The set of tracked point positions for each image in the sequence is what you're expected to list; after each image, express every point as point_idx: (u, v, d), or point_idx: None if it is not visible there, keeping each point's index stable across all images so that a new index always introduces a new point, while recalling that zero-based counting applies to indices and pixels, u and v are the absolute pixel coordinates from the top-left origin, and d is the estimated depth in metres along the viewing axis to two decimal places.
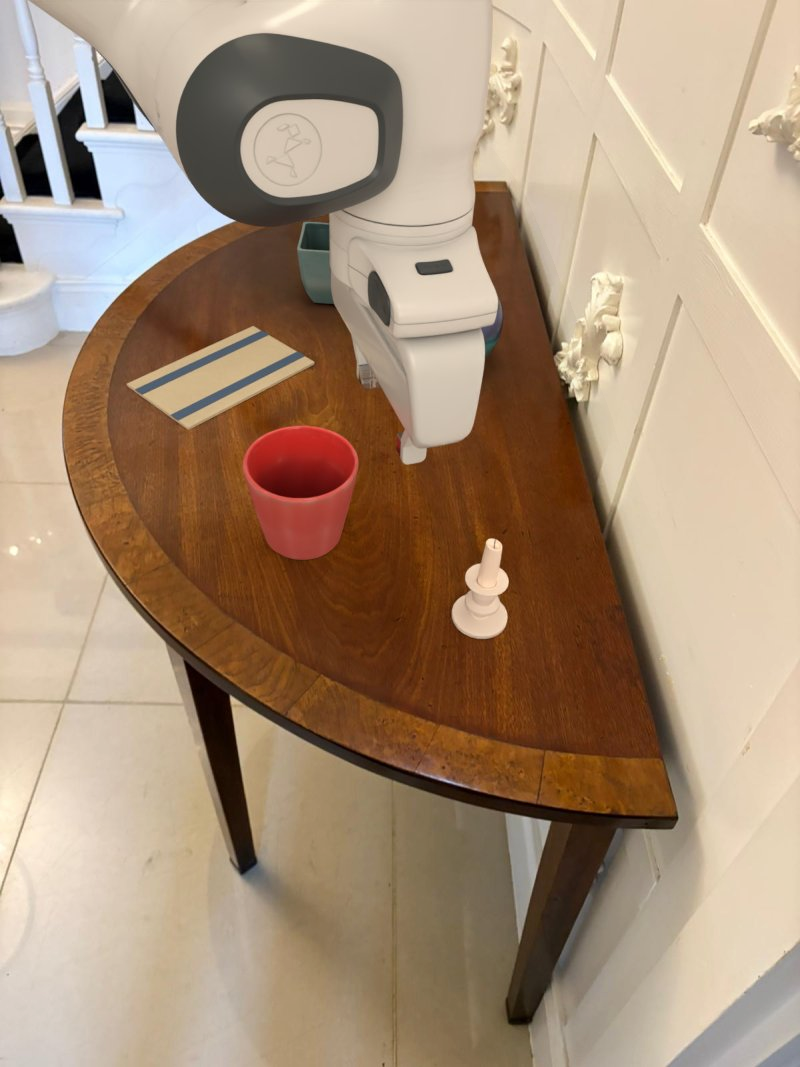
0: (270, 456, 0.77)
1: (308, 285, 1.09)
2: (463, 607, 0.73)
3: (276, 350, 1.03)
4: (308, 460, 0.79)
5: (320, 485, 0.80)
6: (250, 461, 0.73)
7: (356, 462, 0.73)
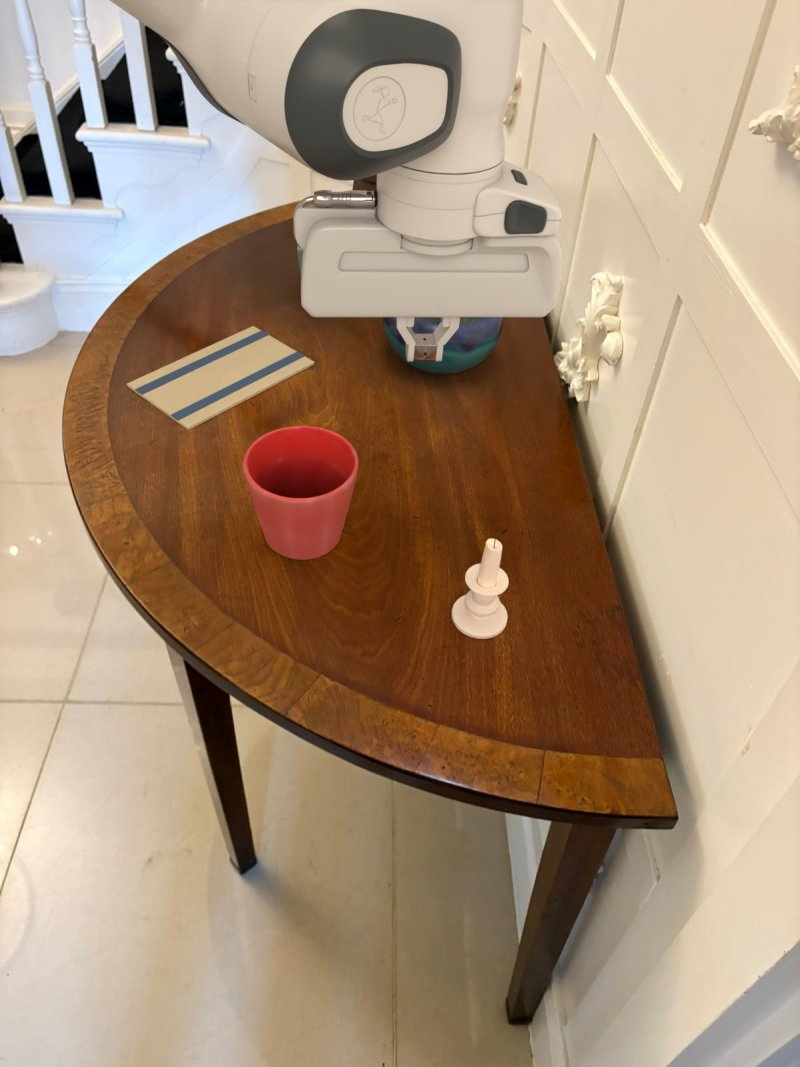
0: (270, 456, 0.77)
1: None
2: (463, 607, 0.73)
3: (276, 350, 1.03)
4: (308, 460, 0.79)
5: (320, 485, 0.80)
6: (250, 461, 0.73)
7: (356, 462, 0.73)
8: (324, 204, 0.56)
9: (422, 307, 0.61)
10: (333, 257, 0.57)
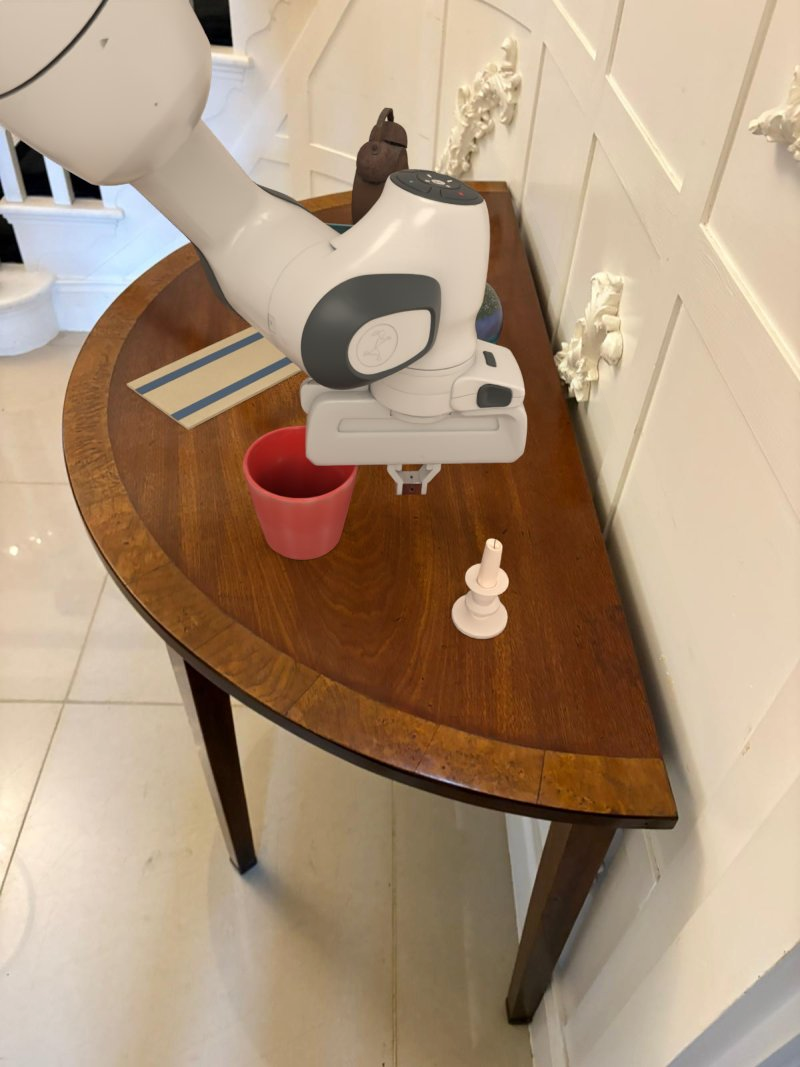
0: (270, 456, 0.77)
1: None
2: (463, 607, 0.73)
3: (276, 350, 1.03)
4: (308, 460, 0.79)
5: (320, 485, 0.80)
6: (250, 461, 0.73)
7: None
8: None
9: (408, 457, 0.72)
10: (333, 422, 0.68)
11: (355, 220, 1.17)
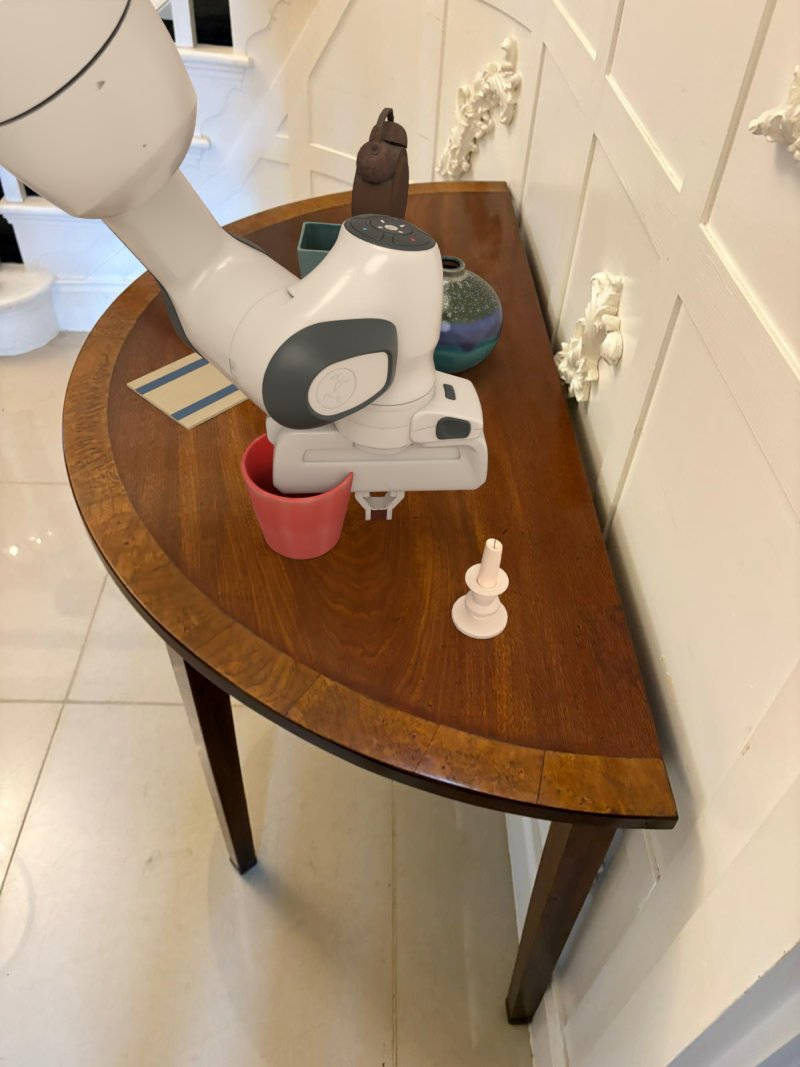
0: (268, 456, 0.77)
1: None
2: (463, 607, 0.73)
3: None
4: None
5: None
6: (248, 461, 0.73)
7: None
8: None
9: (373, 485, 0.74)
10: (298, 453, 0.70)
11: None
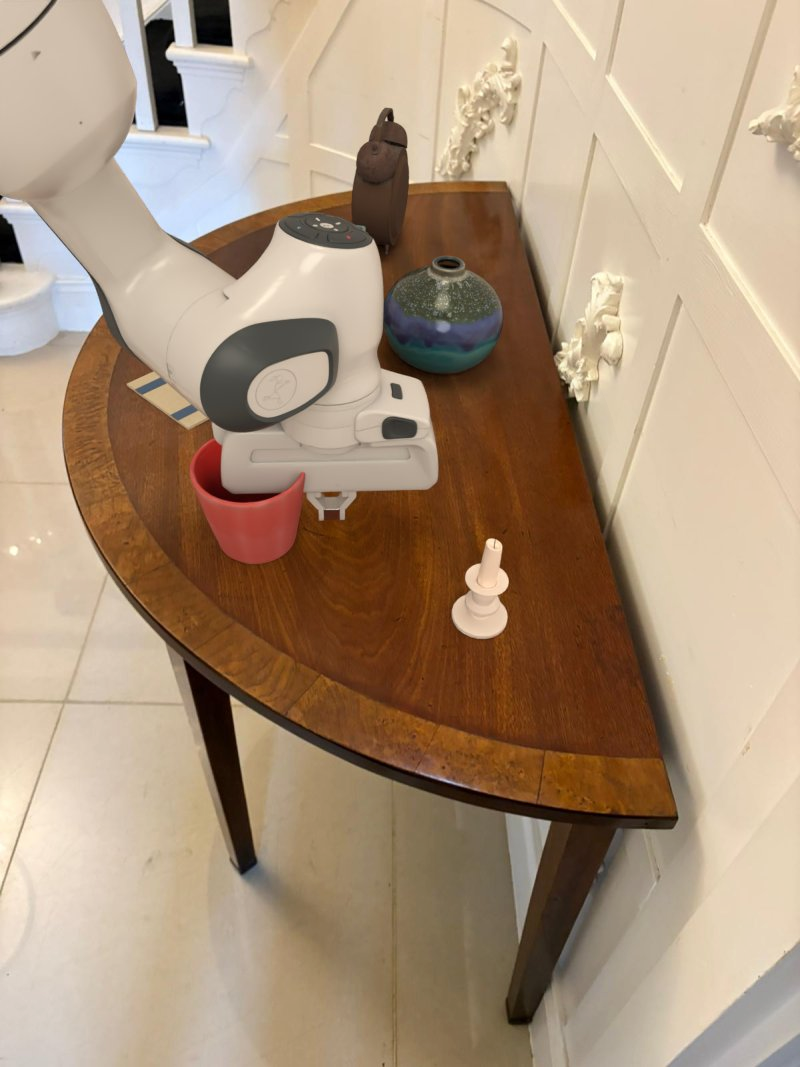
0: (217, 462, 0.75)
1: None
2: (463, 607, 0.73)
3: None
4: None
5: None
6: (197, 469, 0.72)
7: None
8: None
9: (323, 485, 0.73)
10: (245, 453, 0.70)
11: (355, 220, 1.17)
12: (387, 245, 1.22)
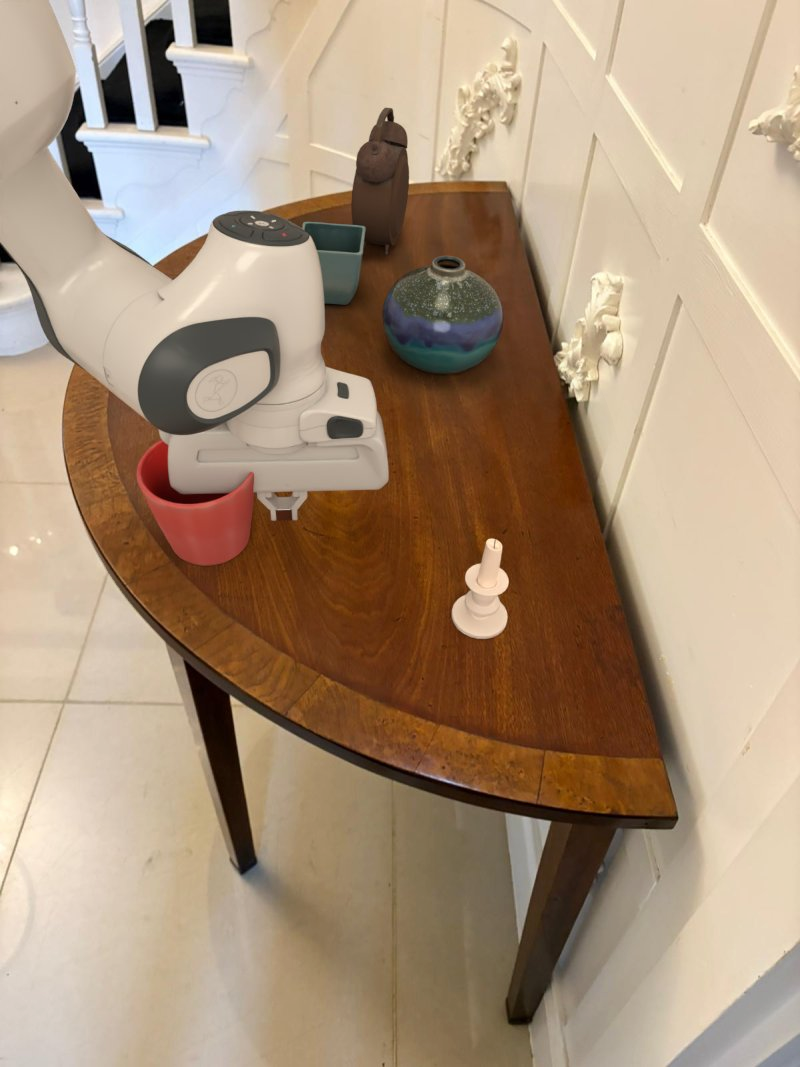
0: (166, 463, 0.75)
1: None
2: (463, 607, 0.73)
3: None
4: None
5: None
6: (144, 471, 0.72)
7: None
8: None
9: (273, 486, 0.73)
10: (191, 453, 0.69)
11: (355, 220, 1.17)
12: (387, 245, 1.22)
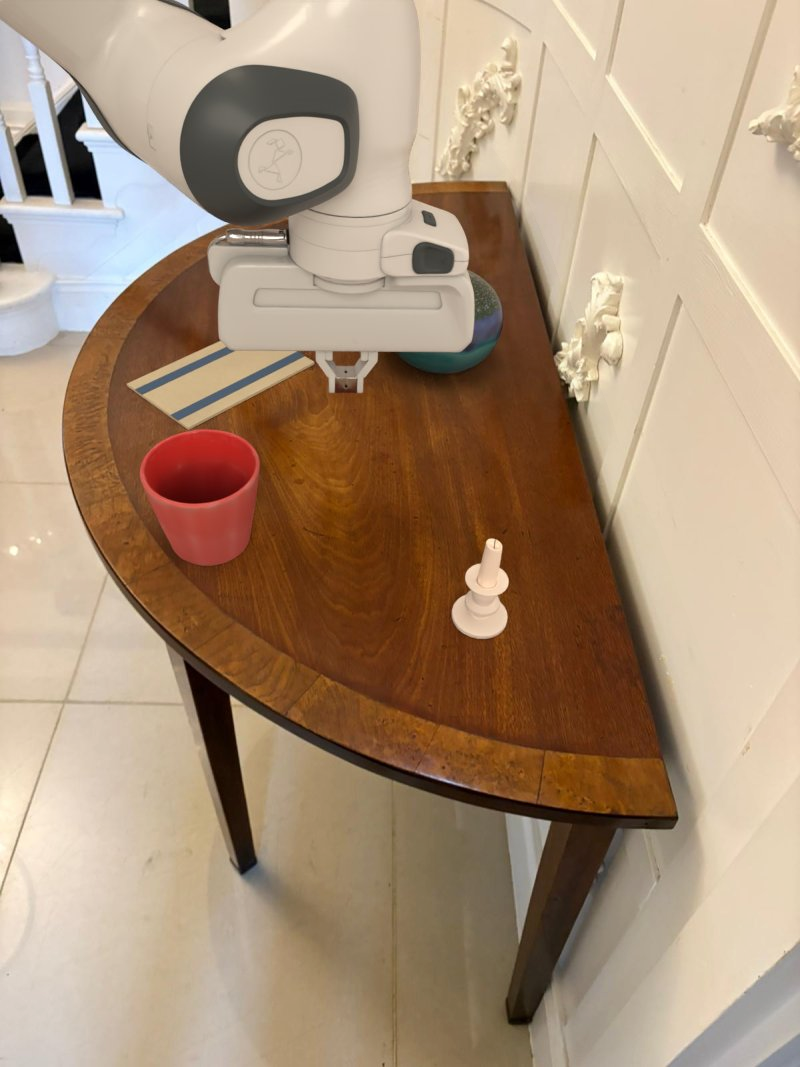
0: (169, 463, 0.75)
1: None
2: (463, 607, 0.73)
3: None
4: (210, 464, 0.77)
5: (224, 488, 0.79)
6: (148, 470, 0.72)
7: (257, 462, 0.73)
8: (237, 242, 0.57)
9: (339, 342, 0.62)
10: (247, 293, 0.58)
11: None
12: None
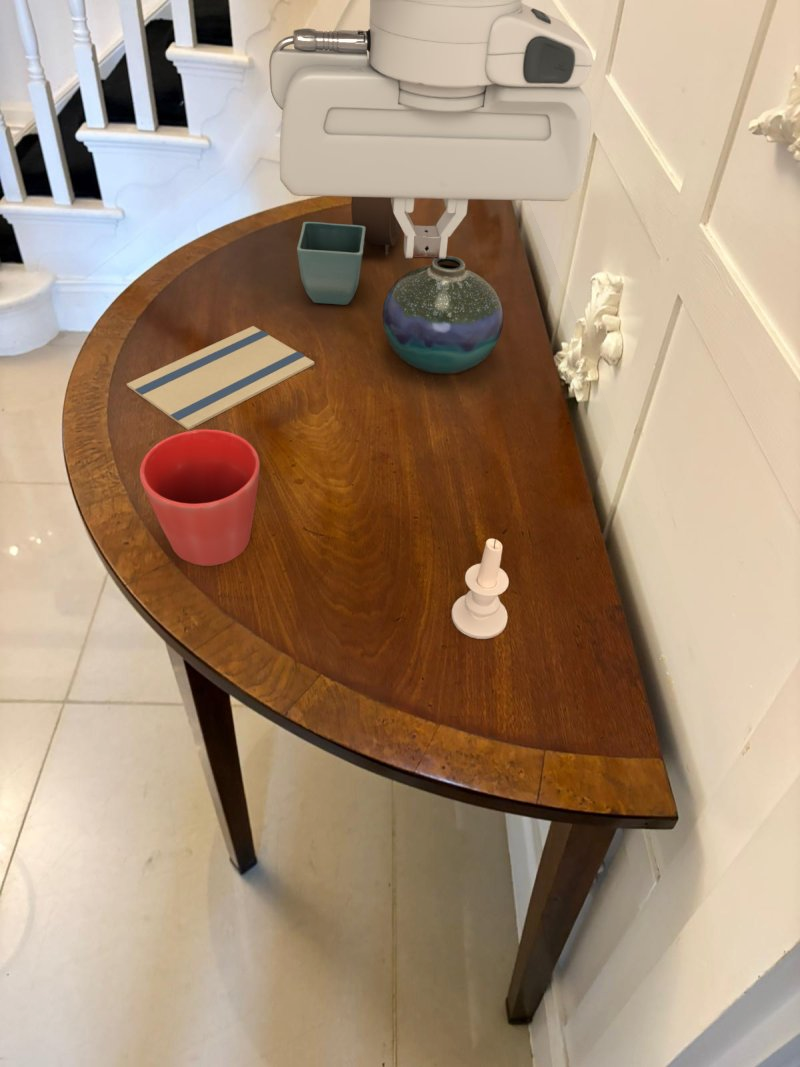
0: (169, 463, 0.75)
1: (308, 285, 1.09)
2: (463, 607, 0.73)
3: (276, 350, 1.03)
4: (210, 464, 0.77)
5: (224, 488, 0.79)
6: (147, 470, 0.72)
7: (257, 462, 0.73)
8: (306, 46, 0.46)
9: (423, 184, 0.51)
10: (317, 114, 0.48)
11: (355, 220, 1.17)
12: (387, 245, 1.22)
